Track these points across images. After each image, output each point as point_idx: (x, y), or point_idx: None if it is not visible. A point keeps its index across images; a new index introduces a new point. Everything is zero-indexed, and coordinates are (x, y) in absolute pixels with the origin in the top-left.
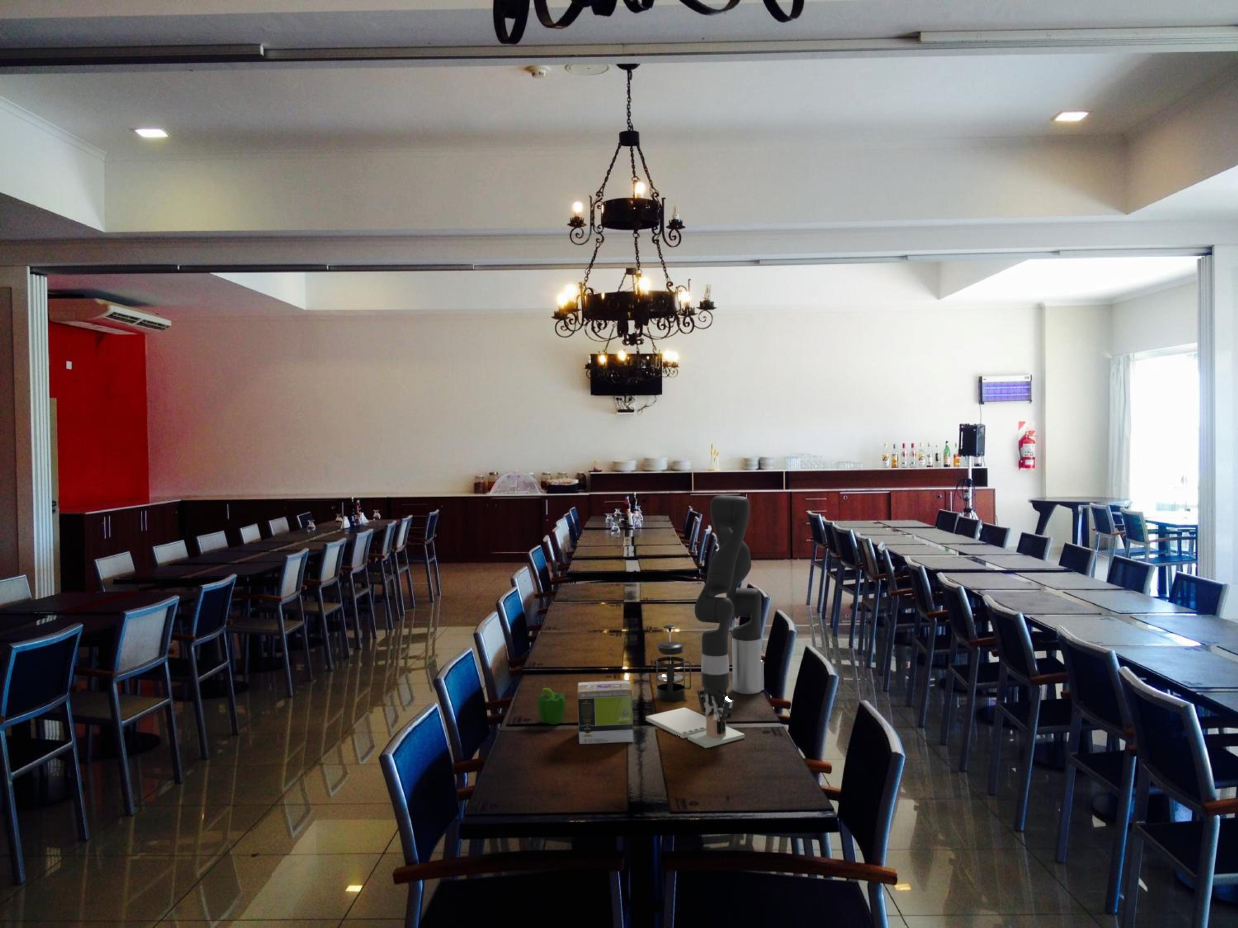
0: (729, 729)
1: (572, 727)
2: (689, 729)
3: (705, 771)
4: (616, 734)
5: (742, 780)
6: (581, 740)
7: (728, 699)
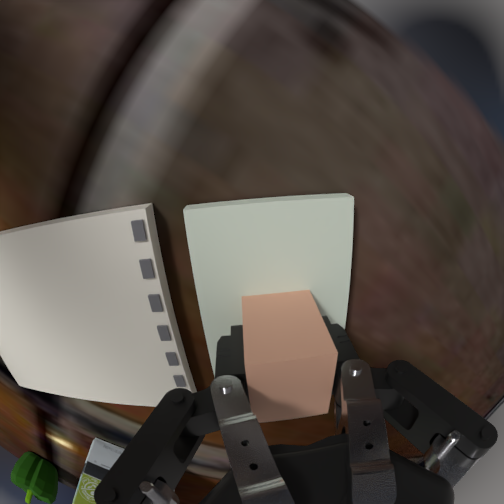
0: (245, 224)
1: (67, 464)
2: (157, 372)
3: None
4: None
5: (492, 362)
6: None
7: (465, 471)
